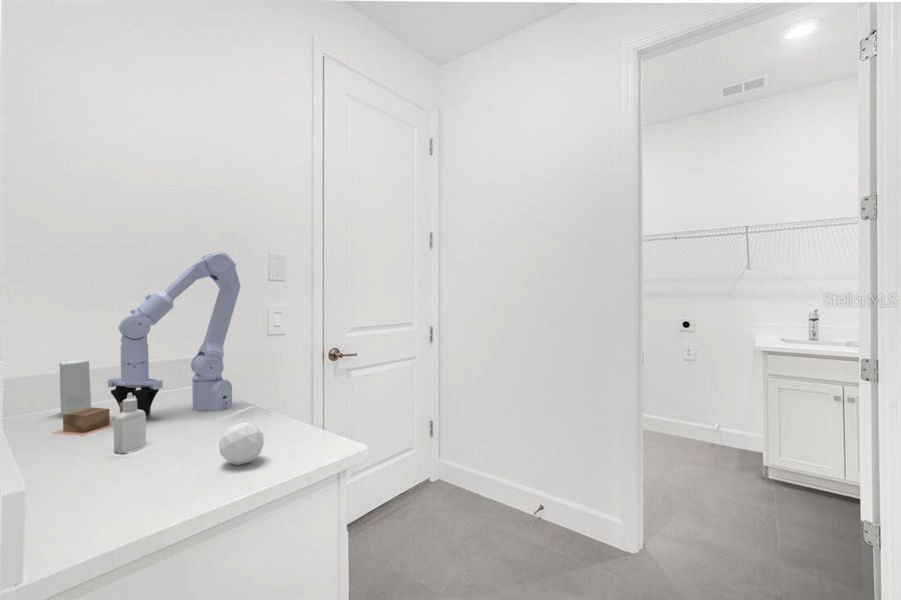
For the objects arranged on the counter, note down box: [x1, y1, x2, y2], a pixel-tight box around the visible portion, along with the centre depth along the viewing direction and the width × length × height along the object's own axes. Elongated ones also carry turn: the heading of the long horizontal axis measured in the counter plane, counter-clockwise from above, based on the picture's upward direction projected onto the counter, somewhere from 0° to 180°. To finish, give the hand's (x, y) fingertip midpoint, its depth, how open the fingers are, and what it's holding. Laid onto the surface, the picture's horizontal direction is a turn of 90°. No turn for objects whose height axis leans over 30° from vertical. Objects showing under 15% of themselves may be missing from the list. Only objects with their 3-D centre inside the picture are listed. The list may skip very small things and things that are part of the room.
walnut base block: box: [62, 406, 111, 433], centre depth 104 cm, size 6×6×4 cm
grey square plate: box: [51, 422, 114, 437], centre depth 107 cm, size 16×16×1 cm
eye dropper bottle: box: [113, 393, 147, 456], centre depth 92 cm, size 4×6×12 cm
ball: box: [218, 421, 265, 466], centre depth 85 cm, size 8×8×8 cm
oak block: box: [119, 402, 152, 419], centre depth 112 cm, size 4×4×4 cm
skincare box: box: [59, 358, 92, 417], centre depth 117 cm, size 8×6×15 cm
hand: (135, 416), depth 112 cm, fingers closed on oak block, 4 cm apart
